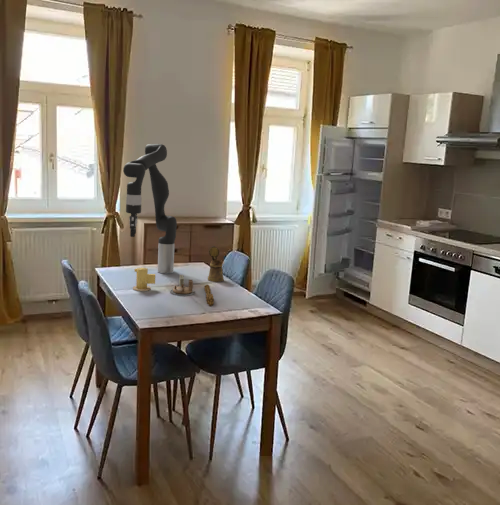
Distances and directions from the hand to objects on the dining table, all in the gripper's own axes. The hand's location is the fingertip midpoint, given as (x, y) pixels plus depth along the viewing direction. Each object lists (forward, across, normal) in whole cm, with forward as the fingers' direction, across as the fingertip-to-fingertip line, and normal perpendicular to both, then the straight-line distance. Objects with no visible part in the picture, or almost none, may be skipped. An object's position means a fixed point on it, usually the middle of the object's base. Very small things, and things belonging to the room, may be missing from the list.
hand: (133, 235), depth 280 cm
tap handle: (+29, +13, +39) cm, 50 cm away
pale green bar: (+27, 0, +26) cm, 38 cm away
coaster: (+28, 0, +5) cm, 29 cm away
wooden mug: (+28, -24, +45) cm, 58 cm away
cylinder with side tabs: (+28, 0, +7) cm, 28 cm away
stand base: (+28, +5, +26) cm, 39 cm away
